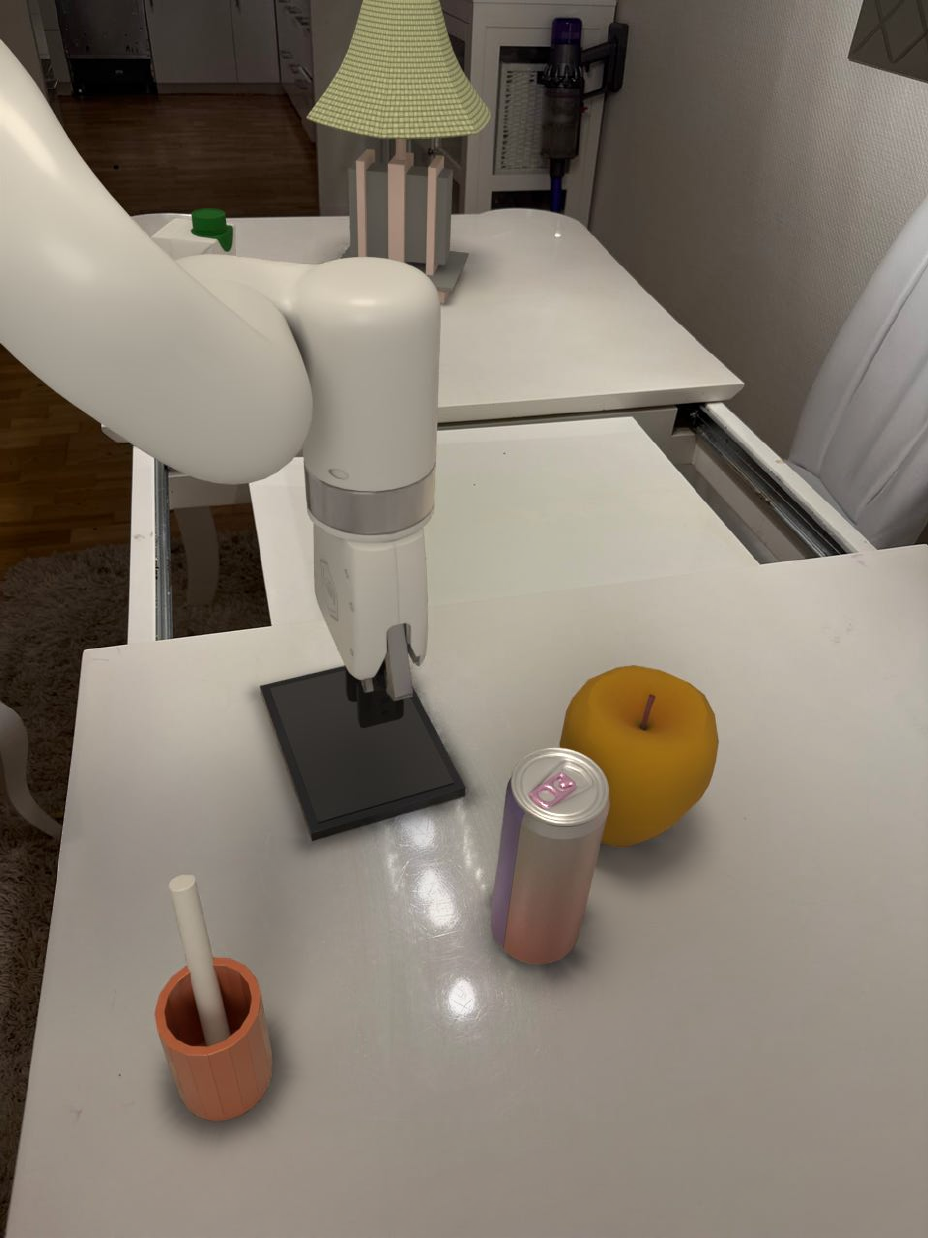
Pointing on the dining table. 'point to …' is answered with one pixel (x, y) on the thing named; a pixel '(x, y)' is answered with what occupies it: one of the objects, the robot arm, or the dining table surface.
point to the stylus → (199, 958)
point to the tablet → (355, 755)
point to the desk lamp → (402, 134)
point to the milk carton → (198, 235)
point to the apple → (644, 747)
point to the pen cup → (227, 1069)
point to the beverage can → (547, 853)
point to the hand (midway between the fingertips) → (374, 706)
